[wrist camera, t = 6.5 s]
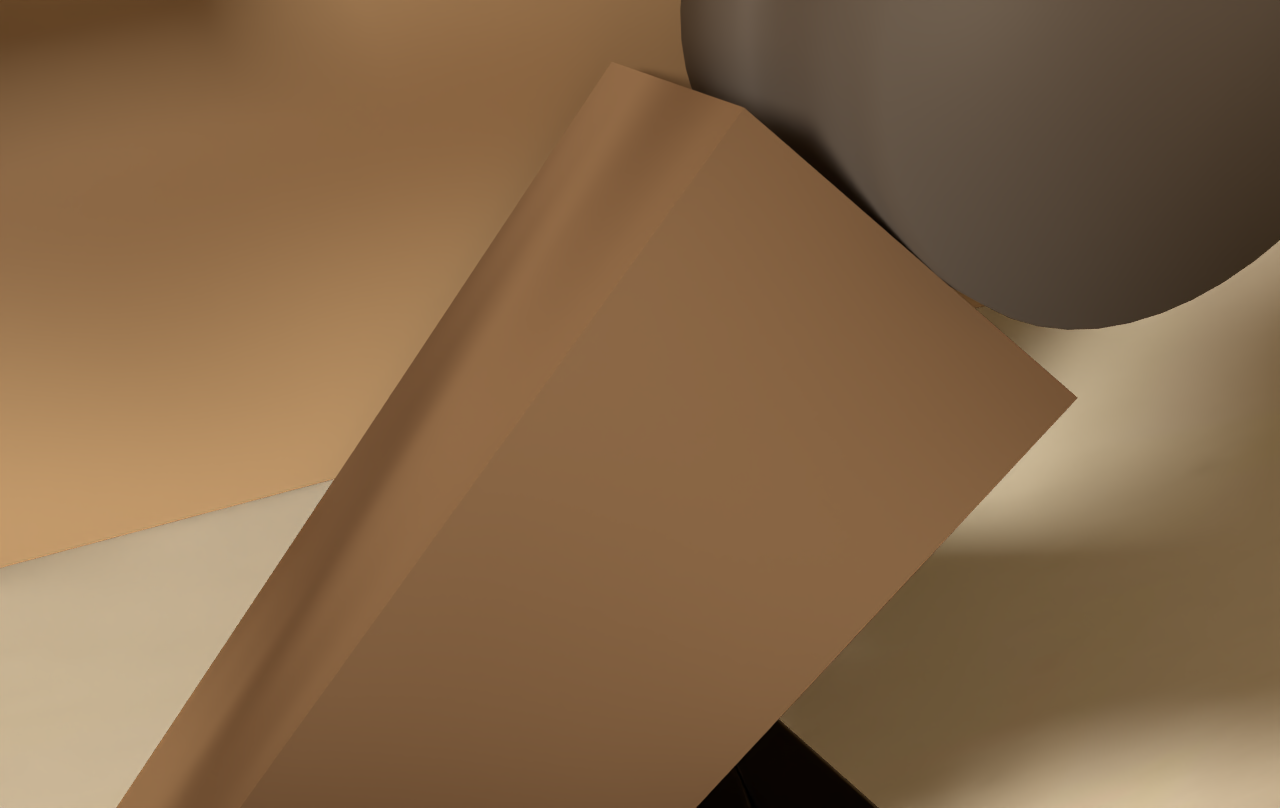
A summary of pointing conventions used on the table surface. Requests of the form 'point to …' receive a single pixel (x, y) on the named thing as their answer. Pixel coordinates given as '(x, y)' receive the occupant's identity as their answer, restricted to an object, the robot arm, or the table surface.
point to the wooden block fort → (253, 228)
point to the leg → (729, 393)
